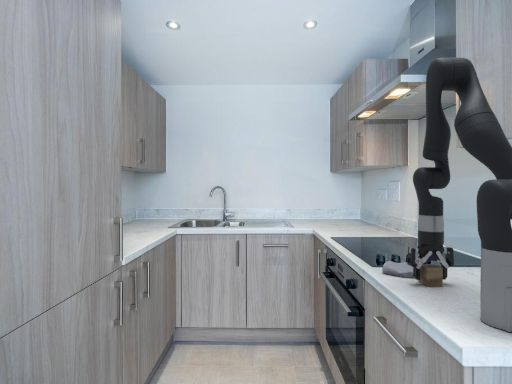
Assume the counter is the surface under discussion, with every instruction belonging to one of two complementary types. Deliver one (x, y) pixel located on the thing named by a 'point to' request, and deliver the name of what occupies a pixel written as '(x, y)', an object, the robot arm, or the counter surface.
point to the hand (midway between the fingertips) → (430, 279)
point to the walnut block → (431, 275)
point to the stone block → (398, 269)
